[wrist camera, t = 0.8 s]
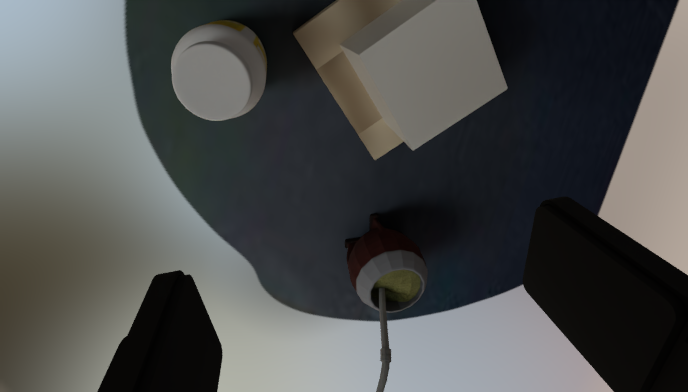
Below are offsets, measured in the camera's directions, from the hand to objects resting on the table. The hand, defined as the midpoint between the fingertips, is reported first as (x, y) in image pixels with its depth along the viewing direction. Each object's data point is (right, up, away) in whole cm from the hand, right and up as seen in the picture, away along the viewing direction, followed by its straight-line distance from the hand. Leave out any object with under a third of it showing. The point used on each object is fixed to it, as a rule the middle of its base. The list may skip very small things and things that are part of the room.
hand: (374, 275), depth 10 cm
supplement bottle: (-10, +13, +18) cm, 24 cm away
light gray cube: (+4, +13, +18) cm, 22 cm away
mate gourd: (+2, -3, +28) cm, 28 cm away
